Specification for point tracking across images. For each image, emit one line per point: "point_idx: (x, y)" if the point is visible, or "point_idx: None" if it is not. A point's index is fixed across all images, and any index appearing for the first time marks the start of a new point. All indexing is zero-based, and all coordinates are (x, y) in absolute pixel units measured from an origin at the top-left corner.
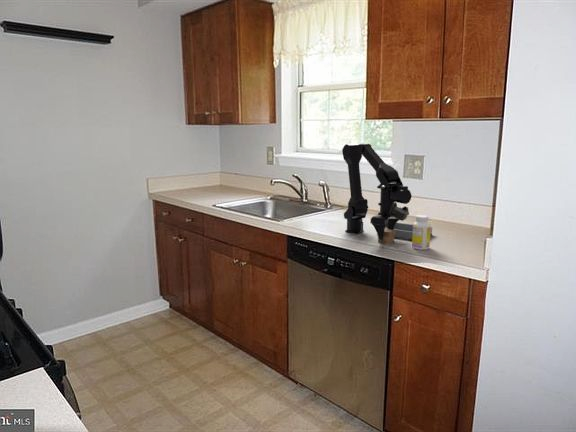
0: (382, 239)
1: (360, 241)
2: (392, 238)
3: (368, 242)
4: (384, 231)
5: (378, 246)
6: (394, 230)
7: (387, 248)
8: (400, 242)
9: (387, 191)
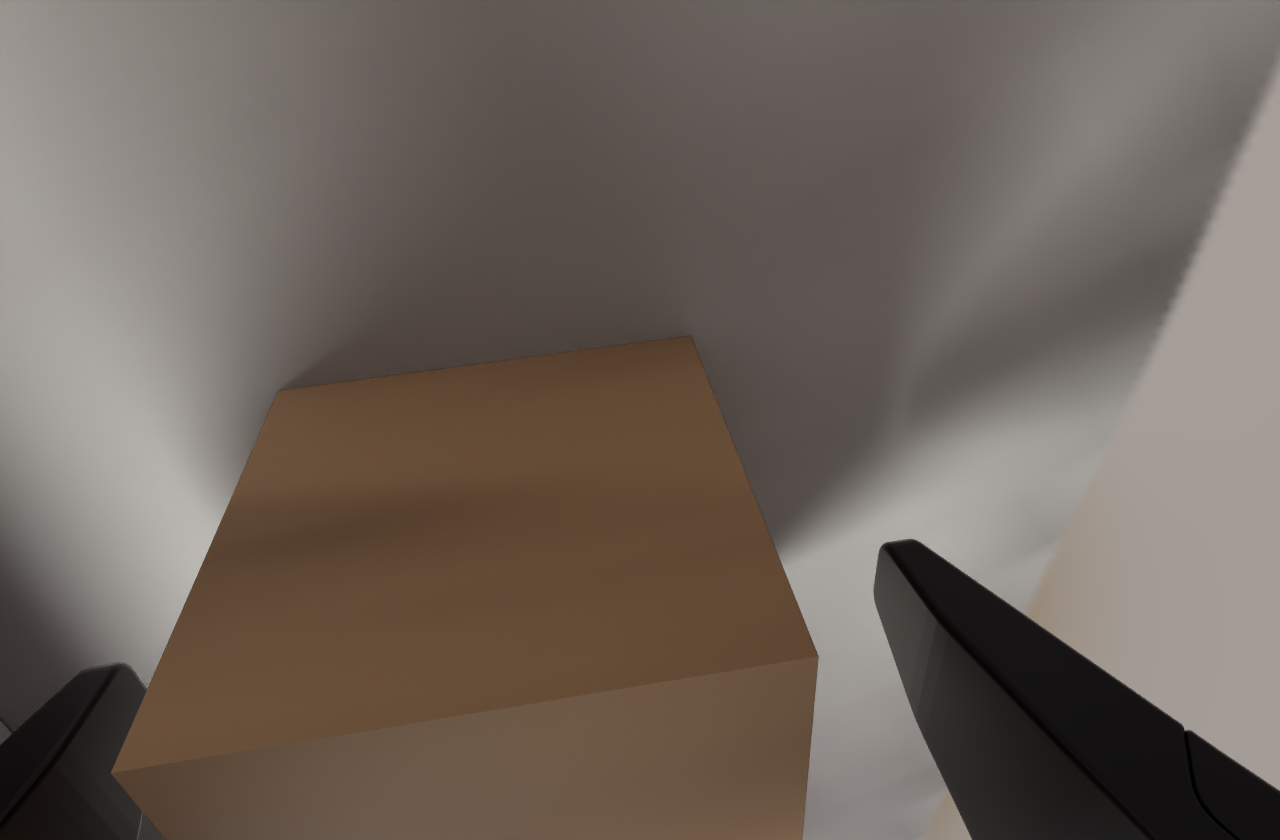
0: (918, 541)
1: (856, 791)
2: (430, 449)
3: (847, 694)
4: (789, 823)
5: (1094, 403)
6: (144, 741)
7: (1240, 98)
8: (204, 145)
9: None
